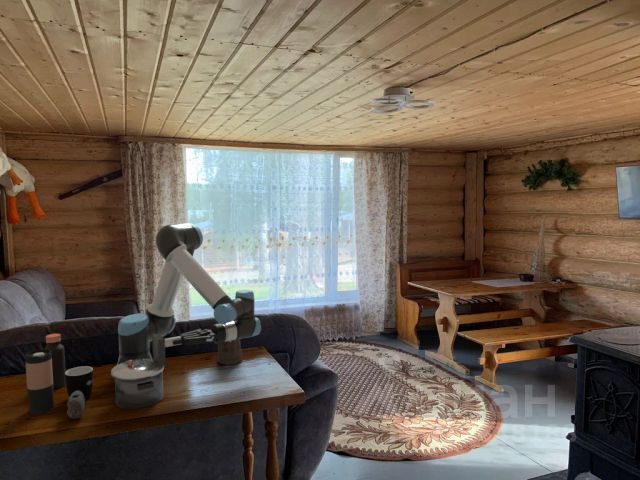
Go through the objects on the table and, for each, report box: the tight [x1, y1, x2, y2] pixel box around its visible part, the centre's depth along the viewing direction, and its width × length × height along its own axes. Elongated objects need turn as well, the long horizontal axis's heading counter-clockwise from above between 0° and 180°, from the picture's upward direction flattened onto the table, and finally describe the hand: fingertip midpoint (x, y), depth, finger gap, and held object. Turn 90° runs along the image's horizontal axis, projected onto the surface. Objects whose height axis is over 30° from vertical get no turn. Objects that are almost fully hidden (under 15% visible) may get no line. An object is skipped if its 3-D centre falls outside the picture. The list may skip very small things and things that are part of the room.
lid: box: [110, 334, 166, 380], centre depth 161 cm, size 18×18×11 cm
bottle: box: [44, 333, 66, 390], centre depth 173 cm, size 7×7×20 cm
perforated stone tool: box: [66, 390, 86, 420], centre depth 152 cm, size 15×5×7 cm, turn 24°
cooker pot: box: [114, 370, 164, 410], centre depth 162 cm, size 20×16×10 cm
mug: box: [65, 365, 94, 400], centre depth 164 cm, size 12×9×10 cm
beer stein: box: [216, 320, 243, 366], centre depth 202 cm, size 15×11×20 cm
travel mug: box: [25, 348, 55, 415], centre depth 153 cm, size 8×8×20 cm
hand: (162, 343), depth 165 cm, fingers closed
